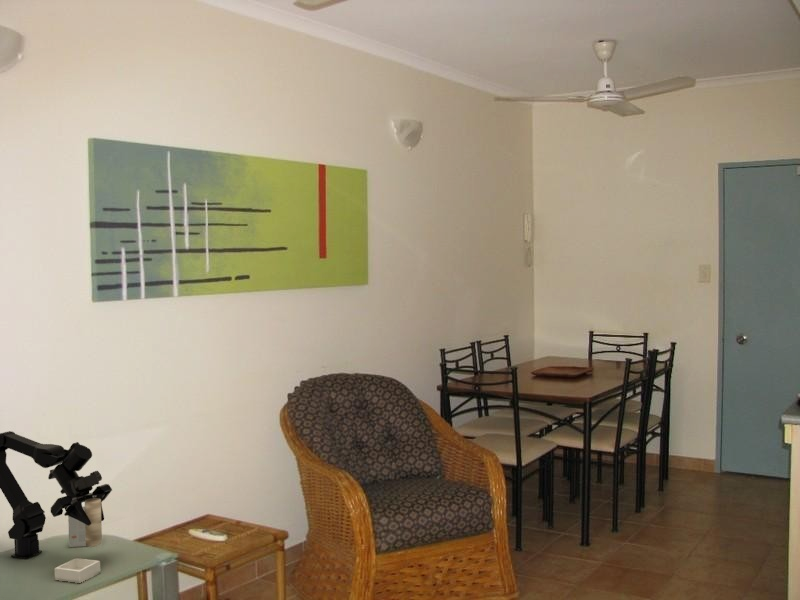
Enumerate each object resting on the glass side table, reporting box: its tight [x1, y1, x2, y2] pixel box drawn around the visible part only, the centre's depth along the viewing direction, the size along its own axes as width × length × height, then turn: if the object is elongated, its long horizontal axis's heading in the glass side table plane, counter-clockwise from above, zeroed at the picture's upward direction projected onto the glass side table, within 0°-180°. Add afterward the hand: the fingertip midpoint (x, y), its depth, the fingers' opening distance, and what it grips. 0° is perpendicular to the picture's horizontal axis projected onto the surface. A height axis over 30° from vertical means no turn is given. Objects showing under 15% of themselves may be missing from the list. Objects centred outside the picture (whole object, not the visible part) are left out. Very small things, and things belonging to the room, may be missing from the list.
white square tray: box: [54, 557, 101, 584], centre depth 233 cm, size 9×9×4 cm
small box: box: [67, 502, 87, 548], centre depth 261 cm, size 8×6×13 cm
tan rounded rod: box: [85, 498, 103, 547], centre depth 240 cm, size 4×4×13 cm
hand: (96, 522), depth 239 cm, fingers closed on tan rounded rod, 4 cm apart
